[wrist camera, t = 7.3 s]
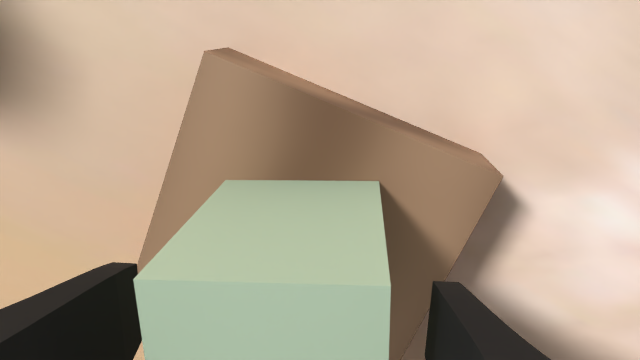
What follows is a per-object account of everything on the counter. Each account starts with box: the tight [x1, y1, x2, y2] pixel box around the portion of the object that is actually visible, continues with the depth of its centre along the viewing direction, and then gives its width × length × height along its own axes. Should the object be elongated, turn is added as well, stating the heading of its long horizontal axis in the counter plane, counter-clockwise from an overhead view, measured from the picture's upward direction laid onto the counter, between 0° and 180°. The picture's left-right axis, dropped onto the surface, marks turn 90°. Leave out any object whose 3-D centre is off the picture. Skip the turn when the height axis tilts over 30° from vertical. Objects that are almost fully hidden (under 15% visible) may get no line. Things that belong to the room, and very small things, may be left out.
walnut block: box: [137, 48, 503, 360], centre depth 16 cm, size 9×9×3 cm
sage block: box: [133, 180, 391, 360], centre depth 12 cm, size 4×4×6 cm
